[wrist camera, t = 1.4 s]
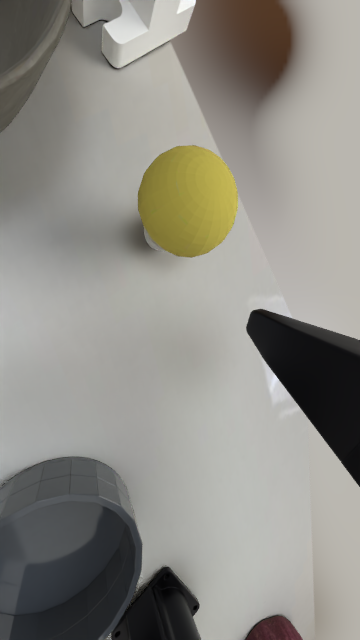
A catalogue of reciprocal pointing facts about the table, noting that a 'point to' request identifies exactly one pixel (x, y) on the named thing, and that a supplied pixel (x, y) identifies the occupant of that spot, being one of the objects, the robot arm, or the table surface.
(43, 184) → the table surface
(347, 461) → the robot arm
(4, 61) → the bowl
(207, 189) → the light bulb
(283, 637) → the vegetable
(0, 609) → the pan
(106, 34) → the white bracket stand
